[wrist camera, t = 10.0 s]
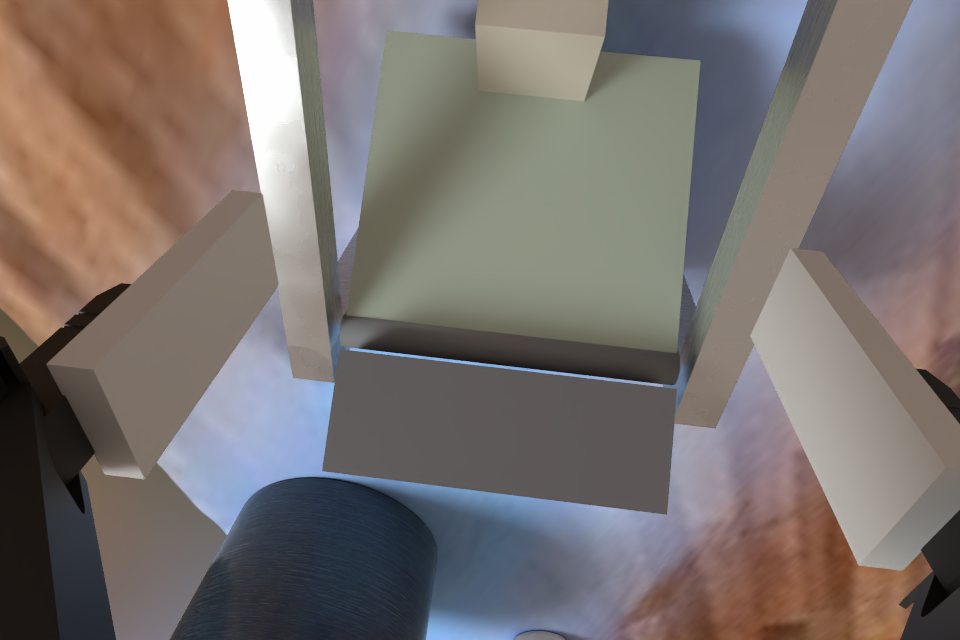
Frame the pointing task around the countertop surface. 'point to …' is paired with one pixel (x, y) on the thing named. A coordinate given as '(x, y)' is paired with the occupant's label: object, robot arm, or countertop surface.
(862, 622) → the countertop surface
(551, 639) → the bottle
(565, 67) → the cream rectangular block
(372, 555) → the planter
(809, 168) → the frame
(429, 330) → the trapdoor
